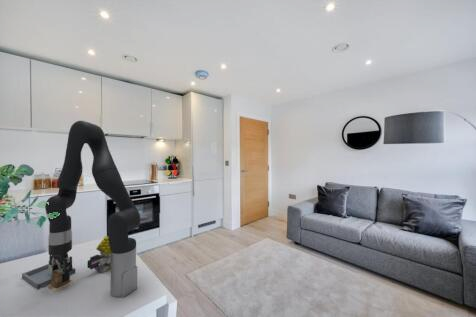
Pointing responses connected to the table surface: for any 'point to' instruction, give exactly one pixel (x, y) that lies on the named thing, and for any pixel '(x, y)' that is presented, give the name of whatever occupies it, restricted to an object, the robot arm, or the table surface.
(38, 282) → the tray
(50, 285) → the cork pad
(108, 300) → the table surface
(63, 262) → the robot arm
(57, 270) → the walnut block
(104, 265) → the toy
